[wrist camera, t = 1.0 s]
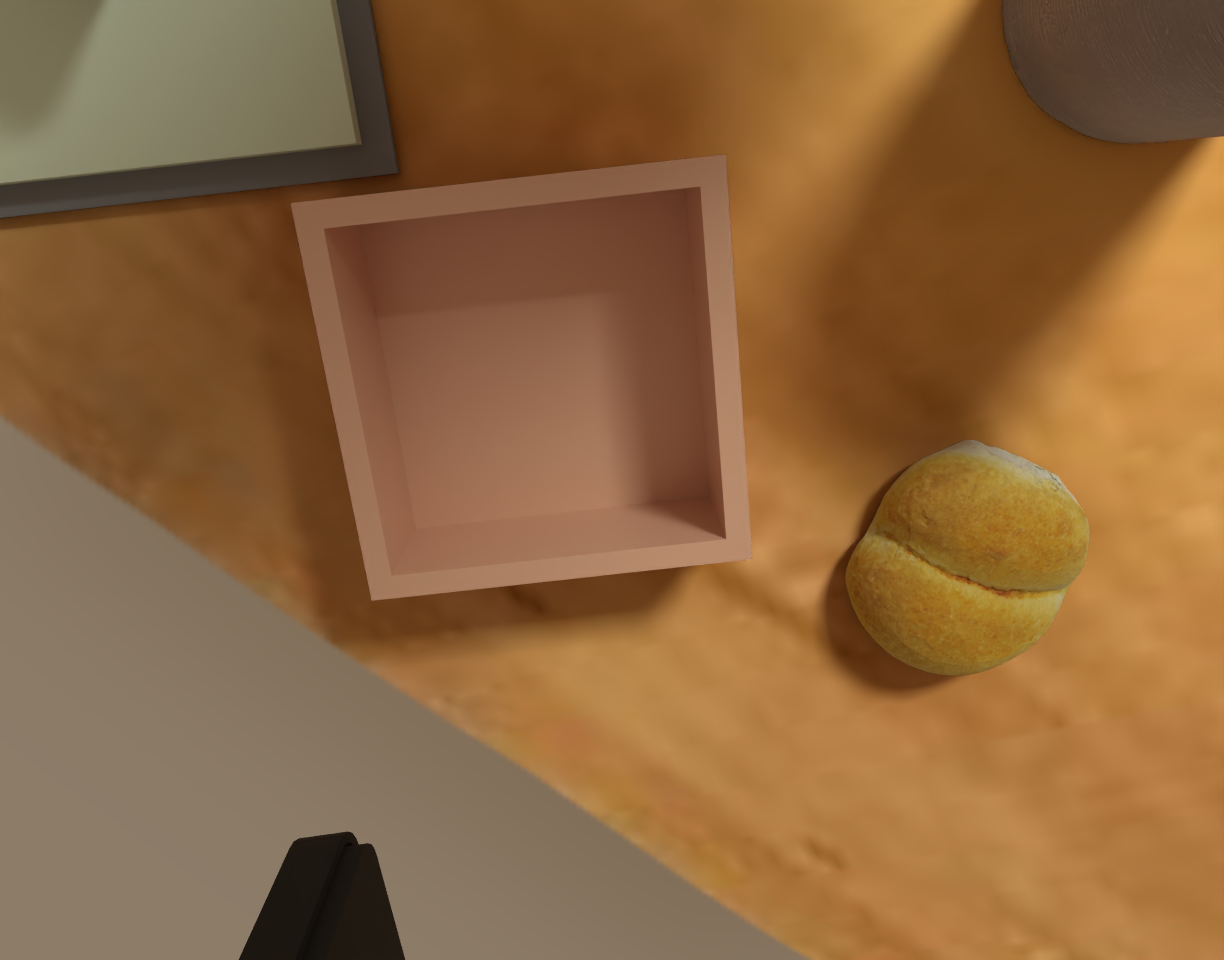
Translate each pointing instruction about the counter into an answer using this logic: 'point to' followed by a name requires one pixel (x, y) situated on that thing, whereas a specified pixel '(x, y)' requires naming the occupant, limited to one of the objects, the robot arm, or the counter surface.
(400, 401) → the open box
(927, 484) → the bread roll
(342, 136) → the lid
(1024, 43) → the pillar candle
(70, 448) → the counter surface
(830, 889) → the counter surface
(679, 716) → the counter surface
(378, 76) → the mat
